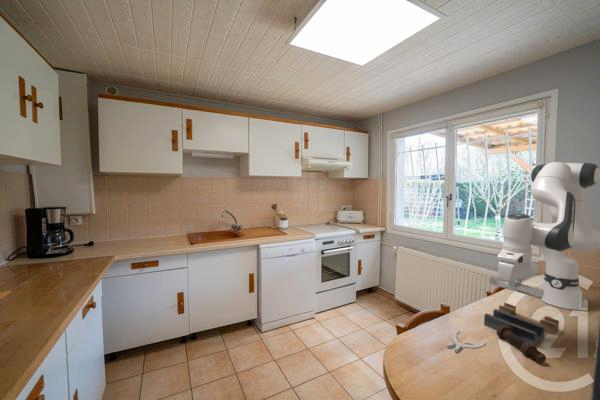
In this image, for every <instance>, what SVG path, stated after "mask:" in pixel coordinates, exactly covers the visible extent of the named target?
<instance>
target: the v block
mask: <svg viewBox="0 0 600 400" xmlns="http://www.w3.org/2000/svg"><path fill="white" fill-rule="evenodd" d="M483 315H484V321H483V322H484V323H483V325H484V326H485V327H488V328H491V329H492V330H495V331H497V328H498V327H499V326H501V325H507V326H509V327H510V328H511V330H512V332H513V334H515V335H516V336H518V337H519V338H521V339H522V340H523V341H525V342H530V343H532V344H534V345H535V346H536V345H537V344H538V343H540V342H541V341H542V340H543V339H545V331H544V330H545V327H544V326H542V325H539V324H536V323H533V322H531V321H528V320H525V319H522V318H519V317H517V316H514V315H511V314H508V313H506V312H503V311H500V310H499V309H497V308H494V309H493V314H489V313H485V314H483Z"/></svg>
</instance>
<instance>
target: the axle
mask: <svg viewBox="0 0 600 400" xmlns="http://www.w3.org/2000/svg"><path fill="white" fill-rule="evenodd" d="M489 284H490V285H491V286H496V287H499V288H502V289H506V290H509V285H508V282H504V281H501V280H500V279H499V277H497V276H494V275H492V276H490V278H489ZM515 286H516V290H514V291H513V292H517V293H519V294H524V295H527V296H530V297H534V298H537V299H539V298H540V300H541V299H542V297H543V294H544V292H543V289H539V287H535V286H531V285H528V284H523V283H521V284H520V283H516V282H515Z"/></svg>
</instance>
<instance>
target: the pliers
mask: <svg viewBox="0 0 600 400" xmlns="http://www.w3.org/2000/svg"><path fill="white" fill-rule="evenodd" d="M460 331H461V330H456V331H453V333H452V336H451V338H452V339H451V340H452V341H453V342H451V341H450V342H448V343H447V344H446V347H445V348H446V349H452V348H454V353H455V354H457V353H458V352H460V351H461V349H479V348H482V347H485V345H486V341H482V342H480V343H477V344H475V343H471V342H464V343H463V344H462V340H461V338H460V337H459V336H458V334H459V333H460Z"/></svg>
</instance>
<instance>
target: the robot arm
mask: <svg viewBox="0 0 600 400" xmlns="http://www.w3.org/2000/svg"><path fill="white" fill-rule="evenodd" d="M530 179H531V182H532V184H531V186H530V194H531V196H532V197H533V198H534V199H535V200H536V201H538V202H540V203H542V204H544V205H548V206H550V208H549V213H550V215H551V216H552V217H554V218H555V219H557V221H556V222H553V223H547V222H537V221H533V220H532V217H531V216H530V215H529V214H525V213H512V214H508V215H506V217H505V219H504V222H503V230H502V237H503V243H502V248H501V250H500V252H499V253H498V254H497V259H496V260H498V266H497V268H498V270H497V274H498V278H499V279H500V280H501V281H504V282H508V285H509V289H508V290H509V291H512V292H515V291H514V290H516V286H515V282H516V283H520V284H523V280H524V278H525V277H527V276H529V275H531V273H532V253H533V252H532V250H533V249H532V248H533V247H537V248H538V249H540V250H541V252H542V254H543V256H544V258H545V259H544V260H545V272H544V273H543V280H542V281H540V283H539V287H538V288H539V289H543V292H544V294H543V297H542V299H540V298H538V299H540V301H542V302H544V303H546V304H549V305H551V306H555V307H556V308H557V307H558V308H561V309H567V310H575V311H584V312H588V311H589V301H588V300H587V299H586V298H583V296H582V293H583V292H582V289H581V288H580V280H579V279H580V278H579V263H578V261H577V260H576V259H575V258H573V257H572V256H569V255H567V254H564V253H563V251H566V250H577V251H594V250H595V251H596V250H597V251H598V249H600V231H598V230H597V229H595V228H594V227H592V226H591V225H590V224H589V223H588V222H587V220H586V219H585V218H586V217H585V215H584V212H585V211H584V207H585V189H587V188H591V187H593V186H594V185H596V184H597V183H598V181H599V180H600V167H599V166H598V165H597V164H596V163H593V162H592V163H590V162H584V163H582V162H561V161H553V162H549V163H543V164H539V165H537V166H535V167H533V168H532V170H531V174H530Z"/></svg>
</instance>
